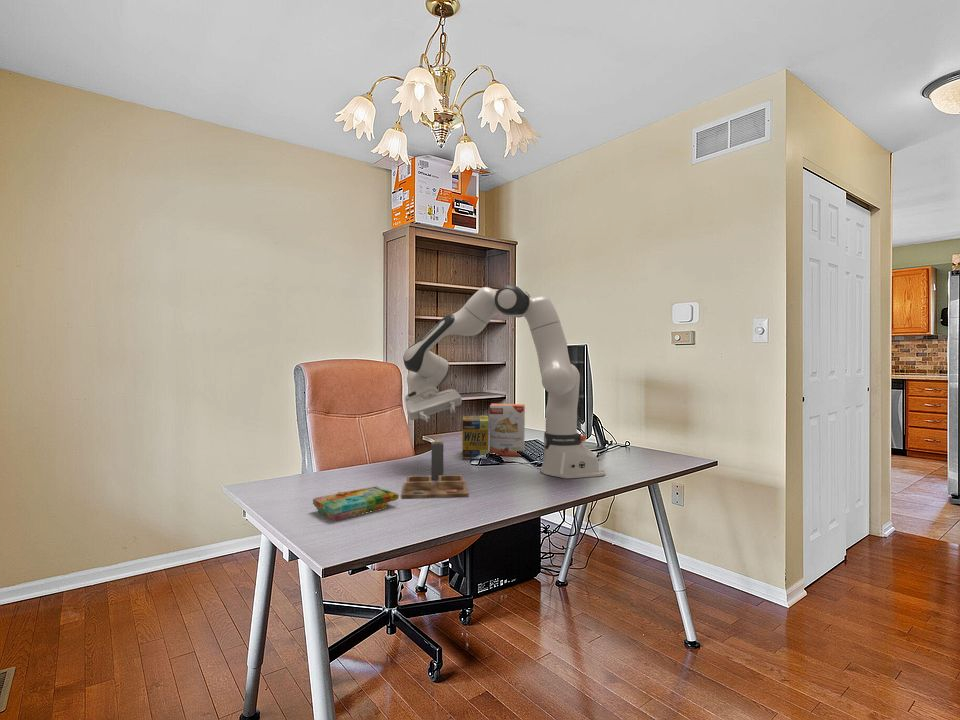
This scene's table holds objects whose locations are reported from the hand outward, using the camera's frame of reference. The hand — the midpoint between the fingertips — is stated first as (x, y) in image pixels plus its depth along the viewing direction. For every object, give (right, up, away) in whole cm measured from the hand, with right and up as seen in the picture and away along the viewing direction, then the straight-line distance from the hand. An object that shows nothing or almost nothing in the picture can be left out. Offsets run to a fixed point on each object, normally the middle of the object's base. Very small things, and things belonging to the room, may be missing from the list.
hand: (441, 415), depth 188 cm
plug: (-1, -21, -4) cm, 21 cm away
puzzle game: (-21, -23, -38) cm, 49 cm away
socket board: (0, -21, -20) cm, 29 cm away
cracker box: (+25, -20, +32) cm, 45 cm away
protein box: (+12, -20, +31) cm, 39 cm away
